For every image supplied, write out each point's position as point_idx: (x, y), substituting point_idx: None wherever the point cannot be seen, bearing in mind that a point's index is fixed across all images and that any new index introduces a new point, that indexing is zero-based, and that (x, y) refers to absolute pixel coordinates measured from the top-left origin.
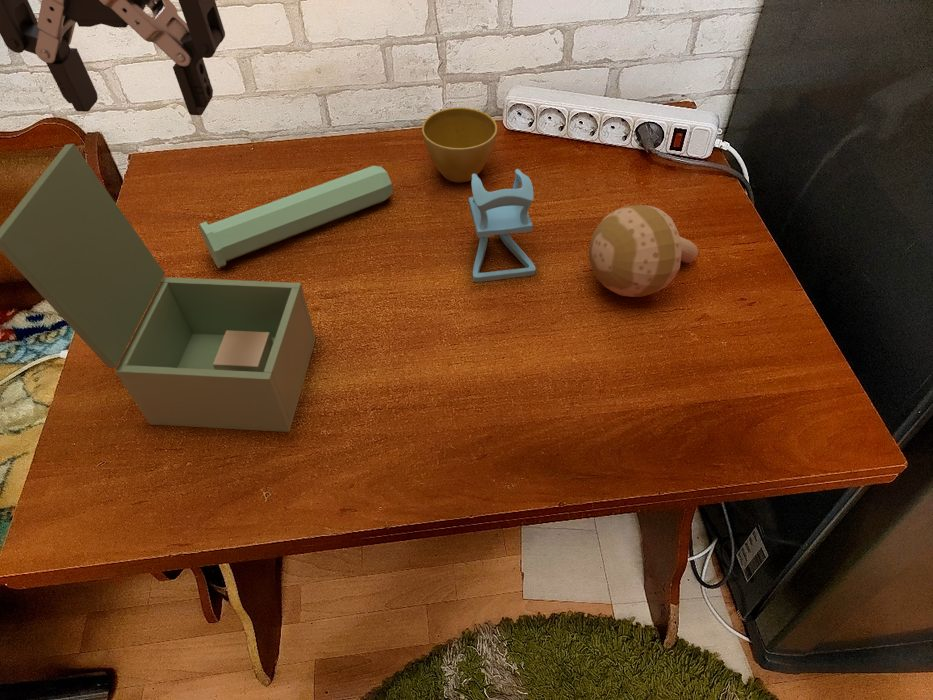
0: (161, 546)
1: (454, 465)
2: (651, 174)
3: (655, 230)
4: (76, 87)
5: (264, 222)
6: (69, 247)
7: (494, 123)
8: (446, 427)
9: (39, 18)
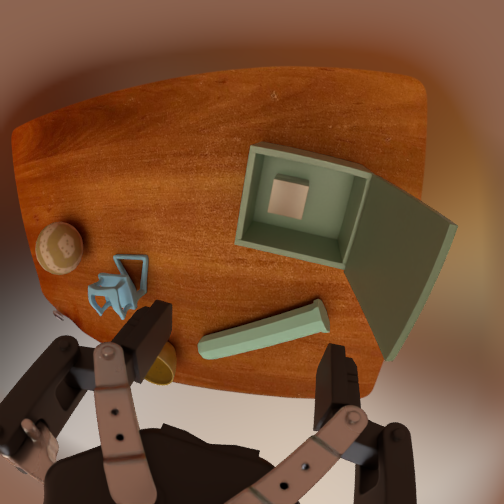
0: (338, 70)
1: (158, 111)
2: (73, 314)
3: (38, 247)
4: (329, 372)
5: (281, 326)
6: (399, 252)
7: None
8: (161, 138)
9: (324, 472)
